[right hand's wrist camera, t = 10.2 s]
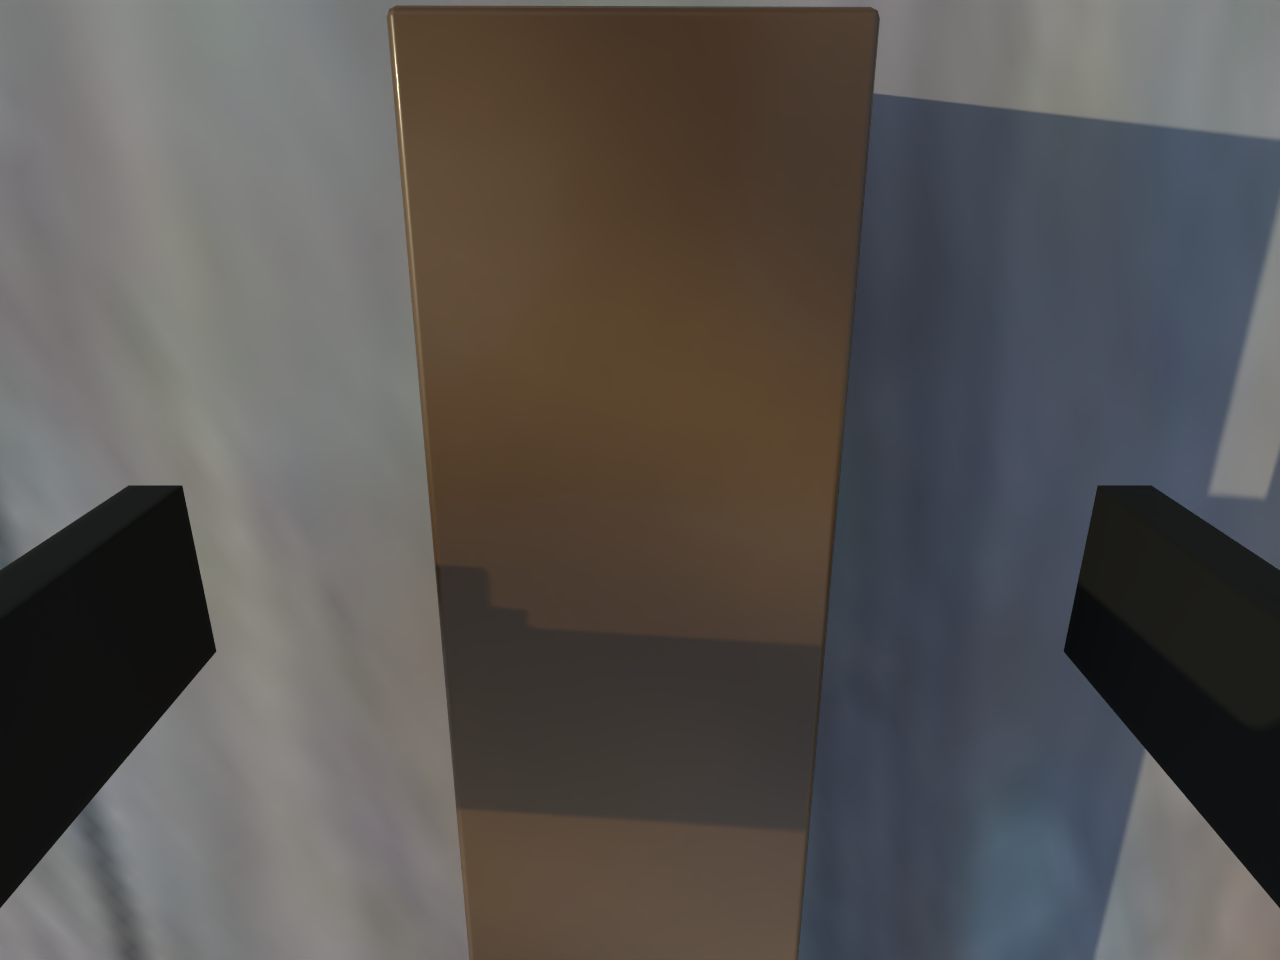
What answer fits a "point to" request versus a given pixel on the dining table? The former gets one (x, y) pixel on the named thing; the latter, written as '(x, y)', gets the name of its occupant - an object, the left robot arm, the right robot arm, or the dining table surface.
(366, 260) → the dining table surface
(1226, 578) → the right robot arm
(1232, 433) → the dining table surface
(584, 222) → the beam
